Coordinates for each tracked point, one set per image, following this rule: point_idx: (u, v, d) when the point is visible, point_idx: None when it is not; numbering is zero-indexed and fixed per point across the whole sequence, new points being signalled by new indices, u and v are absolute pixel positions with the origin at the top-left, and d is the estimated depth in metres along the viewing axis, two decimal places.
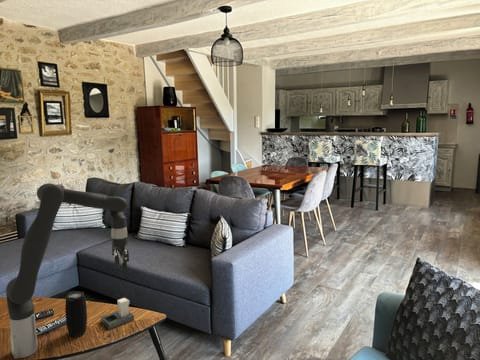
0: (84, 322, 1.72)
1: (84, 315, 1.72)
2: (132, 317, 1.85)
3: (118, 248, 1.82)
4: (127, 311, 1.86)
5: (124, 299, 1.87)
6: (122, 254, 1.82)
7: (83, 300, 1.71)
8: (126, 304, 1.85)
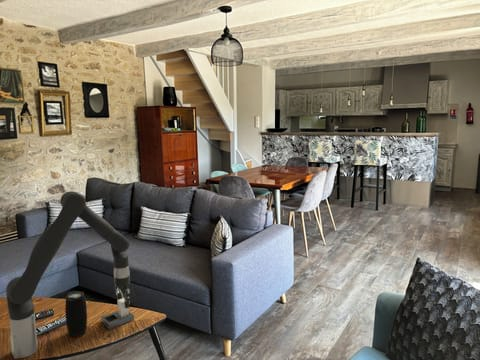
0: (85, 322, 1.72)
1: (84, 315, 1.72)
2: (132, 317, 1.85)
3: (120, 287, 1.84)
4: (127, 311, 1.86)
5: None
6: (124, 293, 1.83)
7: (83, 300, 1.71)
8: None
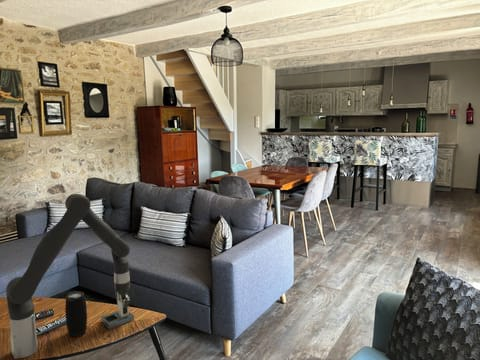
0: (84, 322, 1.72)
1: (84, 315, 1.72)
2: (132, 317, 1.85)
3: (121, 292, 1.84)
4: None
5: None
6: (124, 298, 1.83)
7: (83, 300, 1.71)
8: None
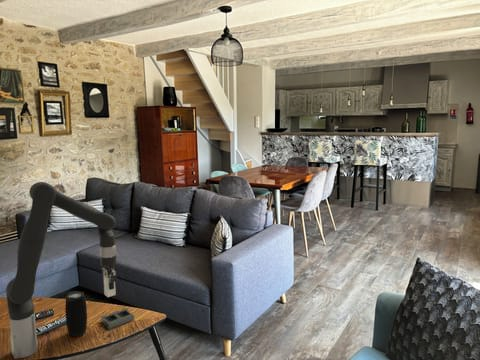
0: (85, 322, 1.72)
1: (84, 315, 1.72)
2: (132, 317, 1.85)
3: (107, 267, 1.77)
4: None
5: None
6: (111, 273, 1.77)
7: (83, 300, 1.71)
8: None
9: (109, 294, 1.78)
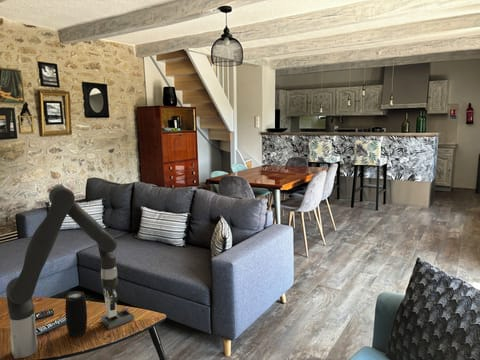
0: (84, 322, 1.72)
1: (84, 315, 1.72)
2: (132, 317, 1.85)
3: (108, 288, 1.79)
4: (115, 307, 1.81)
5: None
6: (112, 294, 1.79)
7: (83, 300, 1.71)
8: None
9: (110, 315, 1.80)
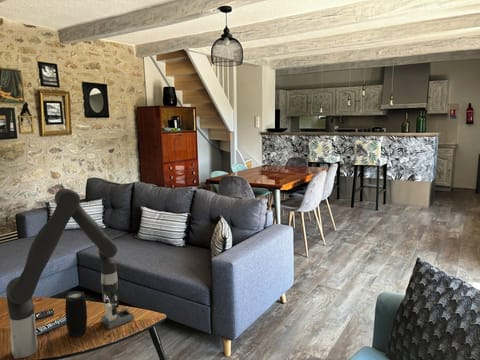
0: (84, 322, 1.72)
1: (84, 315, 1.72)
2: (132, 317, 1.85)
3: (108, 293, 1.79)
4: (115, 315, 1.82)
5: None
6: (112, 299, 1.79)
7: (83, 300, 1.71)
8: None
9: None
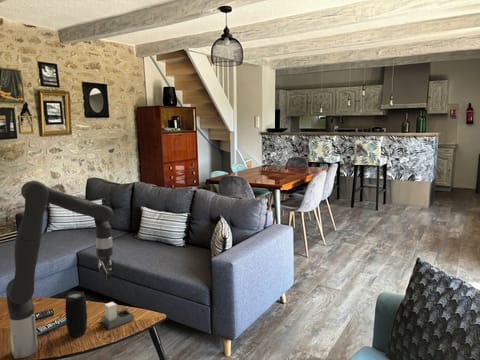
0: (85, 322, 1.72)
1: (84, 315, 1.72)
2: (132, 317, 1.85)
3: (103, 258, 1.77)
4: (115, 315, 1.82)
5: (112, 303, 1.82)
6: (107, 265, 1.76)
7: (83, 300, 1.71)
8: (114, 308, 1.81)
9: None
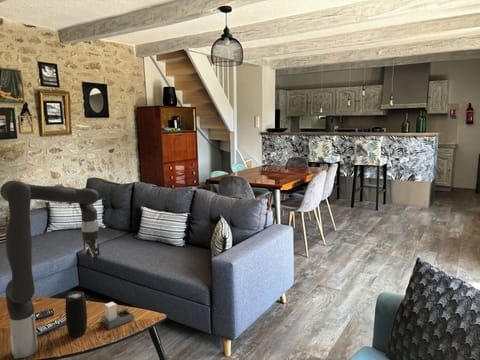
0: (85, 322, 1.72)
1: (84, 315, 1.72)
2: (132, 317, 1.85)
3: (89, 242, 1.76)
4: (115, 315, 1.82)
5: (112, 303, 1.82)
6: (93, 248, 1.76)
7: (83, 300, 1.71)
8: (114, 308, 1.81)
9: None
